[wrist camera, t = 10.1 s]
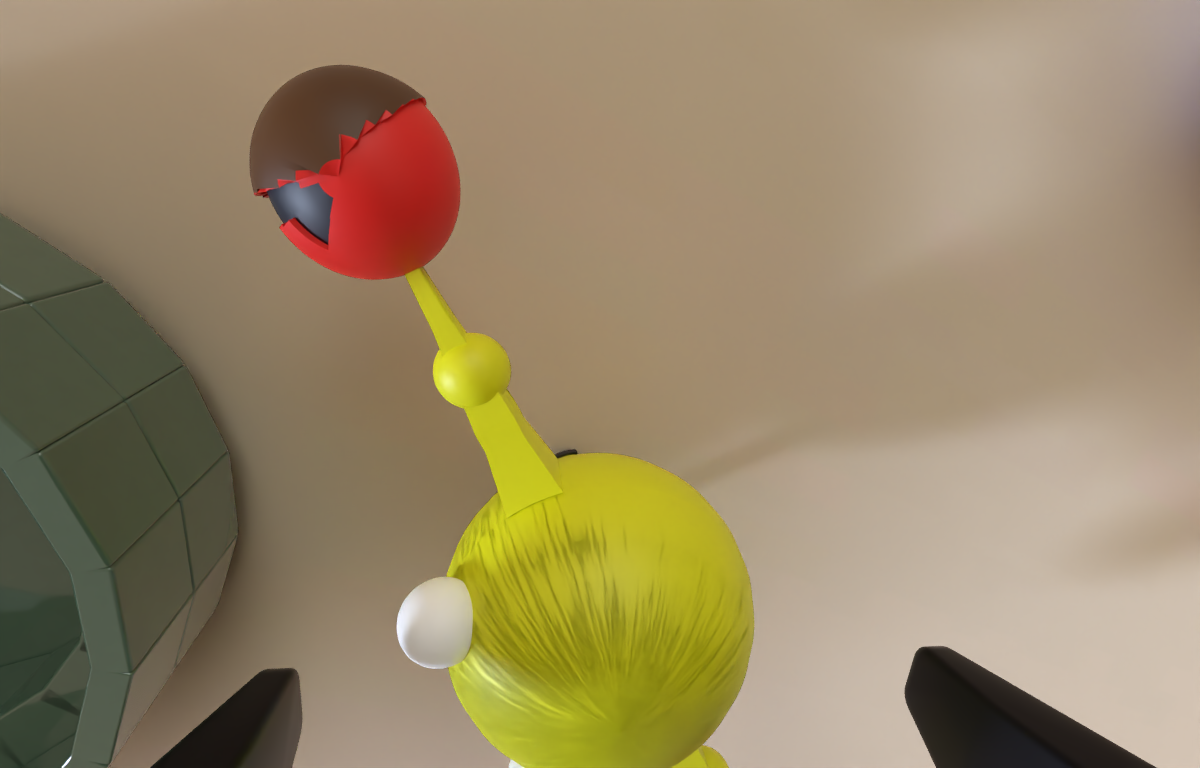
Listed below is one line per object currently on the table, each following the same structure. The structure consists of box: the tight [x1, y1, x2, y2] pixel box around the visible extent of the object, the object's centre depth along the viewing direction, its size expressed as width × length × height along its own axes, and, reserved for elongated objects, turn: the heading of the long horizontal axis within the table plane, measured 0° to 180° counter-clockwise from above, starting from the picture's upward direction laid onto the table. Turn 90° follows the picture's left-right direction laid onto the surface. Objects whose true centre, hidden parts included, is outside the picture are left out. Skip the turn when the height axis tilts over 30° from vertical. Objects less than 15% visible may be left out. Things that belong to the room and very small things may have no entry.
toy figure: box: [250, 65, 754, 768], centre depth 11 cm, size 18×6×7 cm, turn 25°
